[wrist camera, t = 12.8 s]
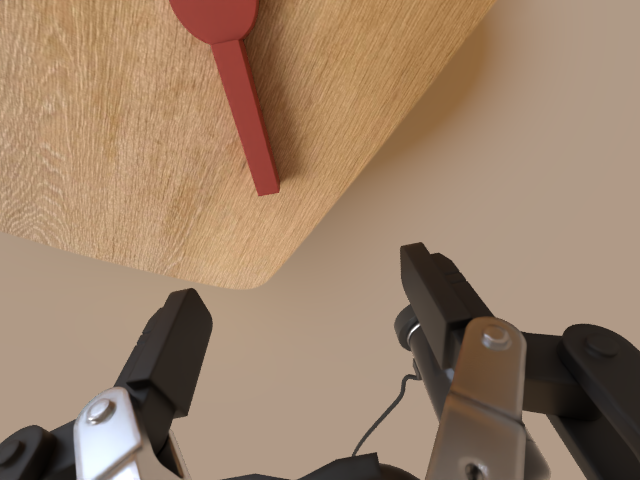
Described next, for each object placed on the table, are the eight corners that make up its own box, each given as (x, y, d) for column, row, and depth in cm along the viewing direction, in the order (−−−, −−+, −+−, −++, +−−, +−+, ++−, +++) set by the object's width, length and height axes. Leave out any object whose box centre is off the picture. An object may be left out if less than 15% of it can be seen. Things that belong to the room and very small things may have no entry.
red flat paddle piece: (298, 179, 31) (299, 189, 29) (242, 189, 31) (238, 200, 29) (244, -73, 20) (238, -87, 18) (156, -55, 20) (140, -66, 18)
